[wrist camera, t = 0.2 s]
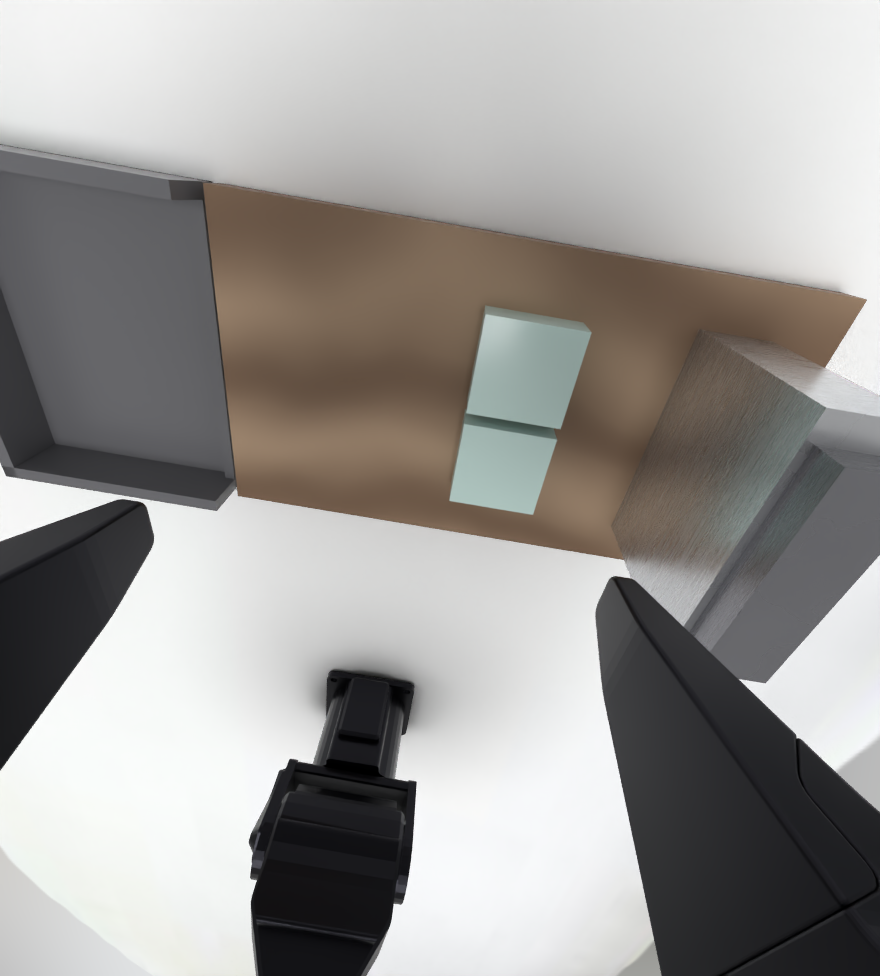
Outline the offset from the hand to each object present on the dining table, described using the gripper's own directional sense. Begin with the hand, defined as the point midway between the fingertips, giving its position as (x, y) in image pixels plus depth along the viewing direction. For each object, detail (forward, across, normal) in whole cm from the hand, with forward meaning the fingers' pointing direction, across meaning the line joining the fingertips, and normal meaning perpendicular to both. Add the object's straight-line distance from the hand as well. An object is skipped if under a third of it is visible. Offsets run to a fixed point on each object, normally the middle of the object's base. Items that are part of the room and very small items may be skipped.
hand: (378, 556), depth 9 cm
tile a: (+13, -4, +4) cm, 14 cm away
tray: (+14, +15, +2) cm, 21 cm away
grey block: (+13, -12, +2) cm, 17 cm away
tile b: (+13, -4, 0) cm, 13 cm away
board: (+14, -3, +2) cm, 15 cm away
